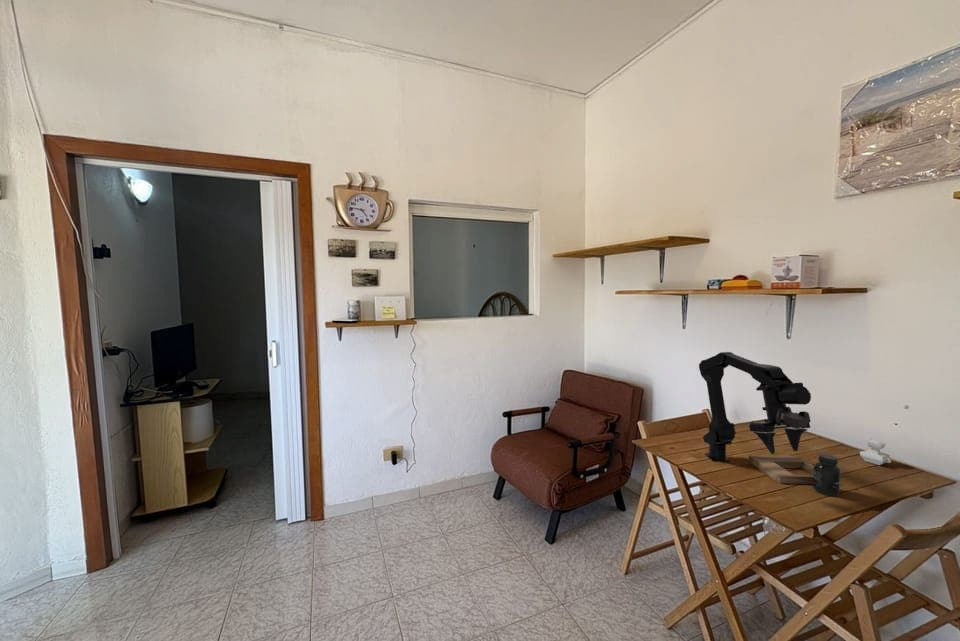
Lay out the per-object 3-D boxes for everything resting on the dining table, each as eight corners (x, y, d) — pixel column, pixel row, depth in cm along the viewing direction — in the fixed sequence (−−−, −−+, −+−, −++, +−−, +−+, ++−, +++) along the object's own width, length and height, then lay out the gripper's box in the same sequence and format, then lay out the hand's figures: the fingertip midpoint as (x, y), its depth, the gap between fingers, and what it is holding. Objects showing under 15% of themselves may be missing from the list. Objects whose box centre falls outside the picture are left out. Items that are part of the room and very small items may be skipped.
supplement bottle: (841, 498, 127) (844, 463, 126) (814, 493, 131) (816, 458, 130) (837, 489, 133) (839, 455, 132) (810, 484, 137) (813, 450, 135)
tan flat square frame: (748, 461, 154) (748, 455, 154) (795, 461, 153) (796, 455, 153) (779, 483, 137) (780, 476, 137) (833, 483, 137) (833, 476, 136)
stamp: (894, 465, 150) (896, 444, 149) (886, 469, 147) (888, 447, 146) (863, 456, 158) (864, 436, 157) (855, 459, 155) (857, 439, 154)
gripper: (774, 406, 123) (784, 459, 120) (822, 402, 127) (832, 452, 124) (744, 405, 134) (752, 453, 131) (788, 401, 138) (797, 448, 135)
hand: (784, 452), depth 130 cm, fingers open, 9 cm apart
